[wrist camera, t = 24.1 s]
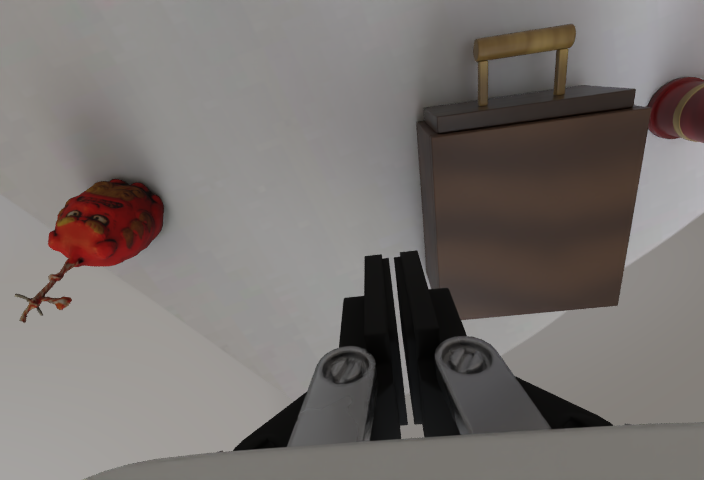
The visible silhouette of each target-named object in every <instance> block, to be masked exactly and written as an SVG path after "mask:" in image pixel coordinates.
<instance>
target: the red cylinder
mask: <svg viewBox="0 0 704 480" xmlns="http://www.w3.org/2000/svg"><path fill="white" fill-rule="evenodd" d="M648 107H650V108H651V113H650V119H649V125H648V128H649V130H650V131H651V132H652V133H653V134H654V135H656V136H658V137H662V138H666V139H676V138H683V139H686V140H690V141H695V142H702V143H704V80H702V79H700V78H696V77H682V78H678V79H675V80H673V81H670V82H669V83H667V84H665V85H664V86H663V87H662V88H660V89H659V90H658V91H657V92H656V93H655V95H654V96H653V97H652V99H651V101H650V103H649V105H648Z"/></svg>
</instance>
